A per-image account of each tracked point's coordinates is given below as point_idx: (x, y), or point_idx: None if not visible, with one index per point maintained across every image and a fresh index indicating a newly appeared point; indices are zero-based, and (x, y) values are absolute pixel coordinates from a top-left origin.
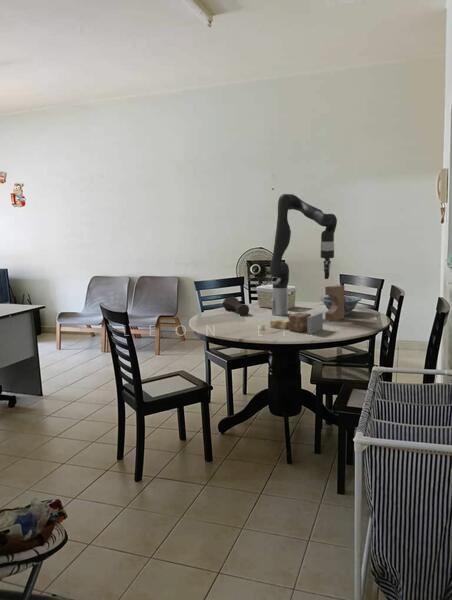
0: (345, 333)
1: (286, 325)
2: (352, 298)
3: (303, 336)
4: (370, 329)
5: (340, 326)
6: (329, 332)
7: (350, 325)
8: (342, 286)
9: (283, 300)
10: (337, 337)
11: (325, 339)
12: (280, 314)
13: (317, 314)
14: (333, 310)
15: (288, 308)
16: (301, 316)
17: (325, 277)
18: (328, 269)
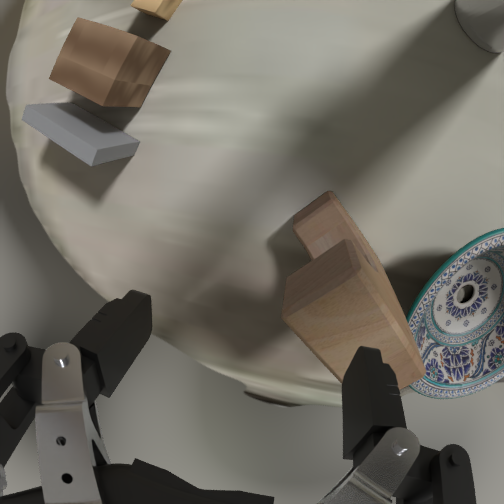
0: (85, 229)
1: (140, 10)
2: (492, 369)
3: (48, 95)
4: None
5: (186, 233)
6: (91, 178)
7: (206, 275)
8: None
9: (497, 3)
10: (45, 198)
11: (27, 163)
12: (456, 8)
13: (61, 142)
14: (323, 248)
15: None
16: (57, 73)
17: (111, 304)
18: (14, 396)
